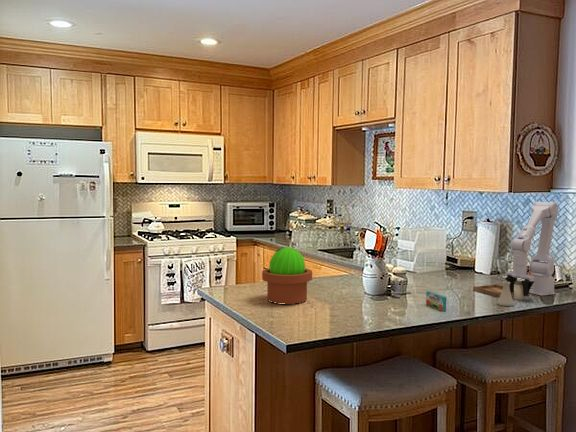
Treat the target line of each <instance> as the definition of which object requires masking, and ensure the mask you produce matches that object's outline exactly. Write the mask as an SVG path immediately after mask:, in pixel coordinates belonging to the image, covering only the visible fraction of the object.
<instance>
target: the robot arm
mask: <svg viewBox="0 0 576 432" xmlns="http://www.w3.org/2000/svg"><path fill="white" fill-rule="evenodd" d="M558 213H559V206H558V204H557V202H555V201H549V202H548V201H537V200H536V201H534V202H533V203H532V205H531V215H530V218H529V220H528V223H527V225H524V226H523V227H522V228H521V230H520V232H519V233H518V235H517V237H516V238H514V239H513V240H512V241H511V244H510V247H511V252H512V255H513V259H512V261H513V262H512V263H513V265H512V271H509V270H508V271H505V281H506V282H510V286H509V287H510V292H511V293H512V292H514V284H515V281H518V279H521V280H520V281H521V282H522V285H523V296H524V297H528V296H529V293H530V294H534V295H537V296H549V295H556V294H557V293H556V292H555V278H554V277H553V274H554V271H555V260H554V258H552V257H551V256H550V251H551V245H552V239H553V238H552V237H553V233H554V226H555V221H557V220H558ZM540 222H541V227H540V234H539V240H538V247H537V252H536V254H535V255H533V256H532V257H531V259H530V262H529V264H528V252H529V251H530V250H531V245H532V240H533V238H534V236H535V234H536V227H538V225H539V223H540ZM527 268H528V269H527ZM527 270H529V272H530V274H531V275H529V274H527ZM531 288H532V289H531Z"/></svg>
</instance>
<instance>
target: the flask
mask: <svg viewBox="0 0 576 432" xmlns="http://www.w3.org/2000/svg"><path fill="white" fill-rule="evenodd" d="M502 286H503V289H502V292H501V295H500V297H498V300H497V302H496V304H497V305H498V306H504V307H514V306H515V302H514V298H513V295H511V293H510V287H509V286H510V282H507V281H502Z"/></svg>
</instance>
